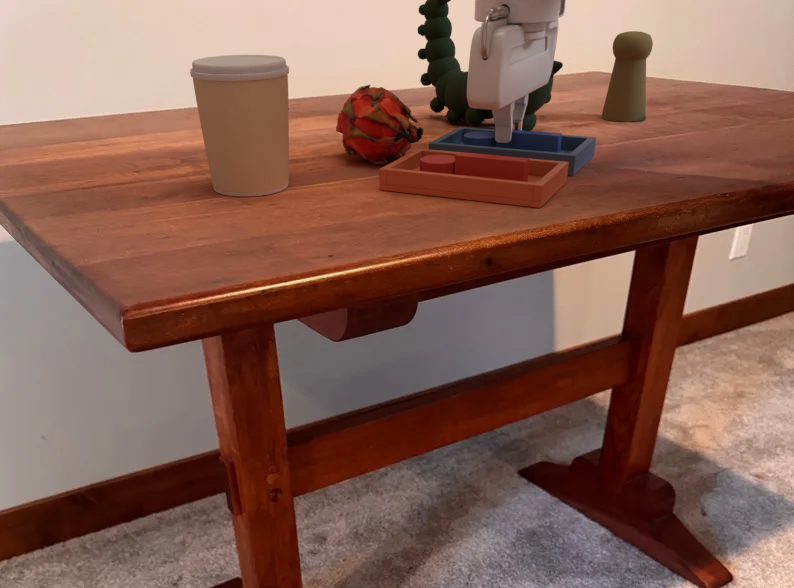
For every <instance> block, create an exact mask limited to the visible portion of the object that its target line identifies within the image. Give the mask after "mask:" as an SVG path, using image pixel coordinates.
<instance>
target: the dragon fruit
mask: <svg viewBox="0 0 794 588" xmlns="http://www.w3.org/2000/svg"><path fill="white" fill-rule="evenodd" d="M410 119H411V121H412V122H414V123H416V124H419V121H418V120H417V119H416V118H414V116H412V110H411V108H410V107H408V105H406V103H404V102H403V101H401V100H400V98H399V97H398V96H397V95H396V94H394V93H393V92H392V91H390V90H388V89H387V88H384V87H382V86H381V87H375V86H372V87H371V84H367V85H363V86H360V87H358V88H357V89H356V90H355V91H354V92H353V93H351V95H350V96H349V97H348V98H347V100H346V101H345V102H344V104H343V107H342V109H341V110H340V112H339V113H338V115H337V123H336V126H335V132H337V133H340V134H342V140H341V141H342V146H343V148H344V151H345V154H346V155H347V156H348V157H352V156H356V155H358V154H360V156H362V157H363V158H364V159H365V160H367V161H369V162H370V164H373V165H378V166H381V165H388V164H390V163H391V162H389V161H388V160H386V158H396V157H397V156H399V155H400V154H401V155H402V156H405V155H406V154H407V152H408V151H409V150H411V146H412V145H413V144H416V143H418V142H420V141H421V140H422V138H423V134H424V128H423V127H419V128H418V127H416V126H414V125H413V124H412V123H411V122H410Z"/></svg>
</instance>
